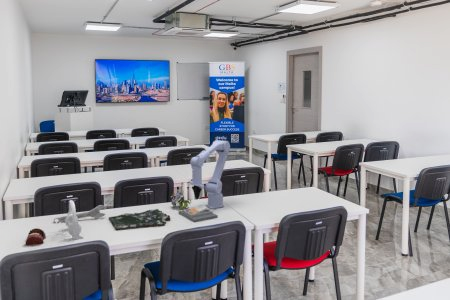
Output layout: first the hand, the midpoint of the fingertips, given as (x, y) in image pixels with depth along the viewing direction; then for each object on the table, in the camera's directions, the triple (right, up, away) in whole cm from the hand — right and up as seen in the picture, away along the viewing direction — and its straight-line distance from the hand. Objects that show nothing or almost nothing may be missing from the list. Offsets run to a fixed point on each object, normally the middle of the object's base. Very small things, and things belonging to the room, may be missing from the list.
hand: (197, 197), depth 256 cm
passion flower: (-12, -8, +12) cm, 18 cm away
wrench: (-67, -12, -15) cm, 70 cm away
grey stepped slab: (+1, -10, -5) cm, 12 cm away
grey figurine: (-63, -15, -37) cm, 75 cm away
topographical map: (-31, -13, -16) cm, 37 cm away
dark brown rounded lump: (-78, -17, -48) cm, 93 cm away
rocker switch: (+1, -8, -6) cm, 9 cm away
